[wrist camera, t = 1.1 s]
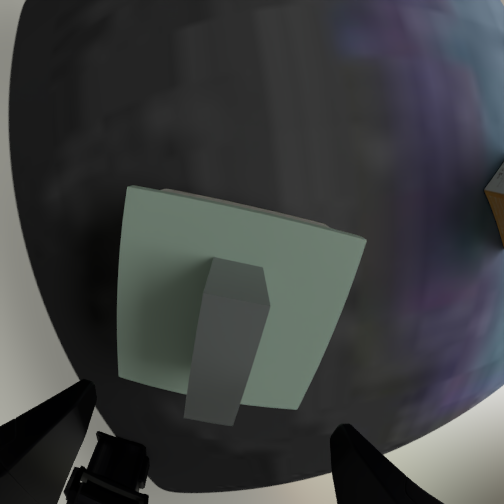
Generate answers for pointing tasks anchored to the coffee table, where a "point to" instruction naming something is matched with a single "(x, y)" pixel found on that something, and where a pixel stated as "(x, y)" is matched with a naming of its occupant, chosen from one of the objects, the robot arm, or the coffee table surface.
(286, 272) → the lid
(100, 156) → the coffee table surface
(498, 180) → the small box
